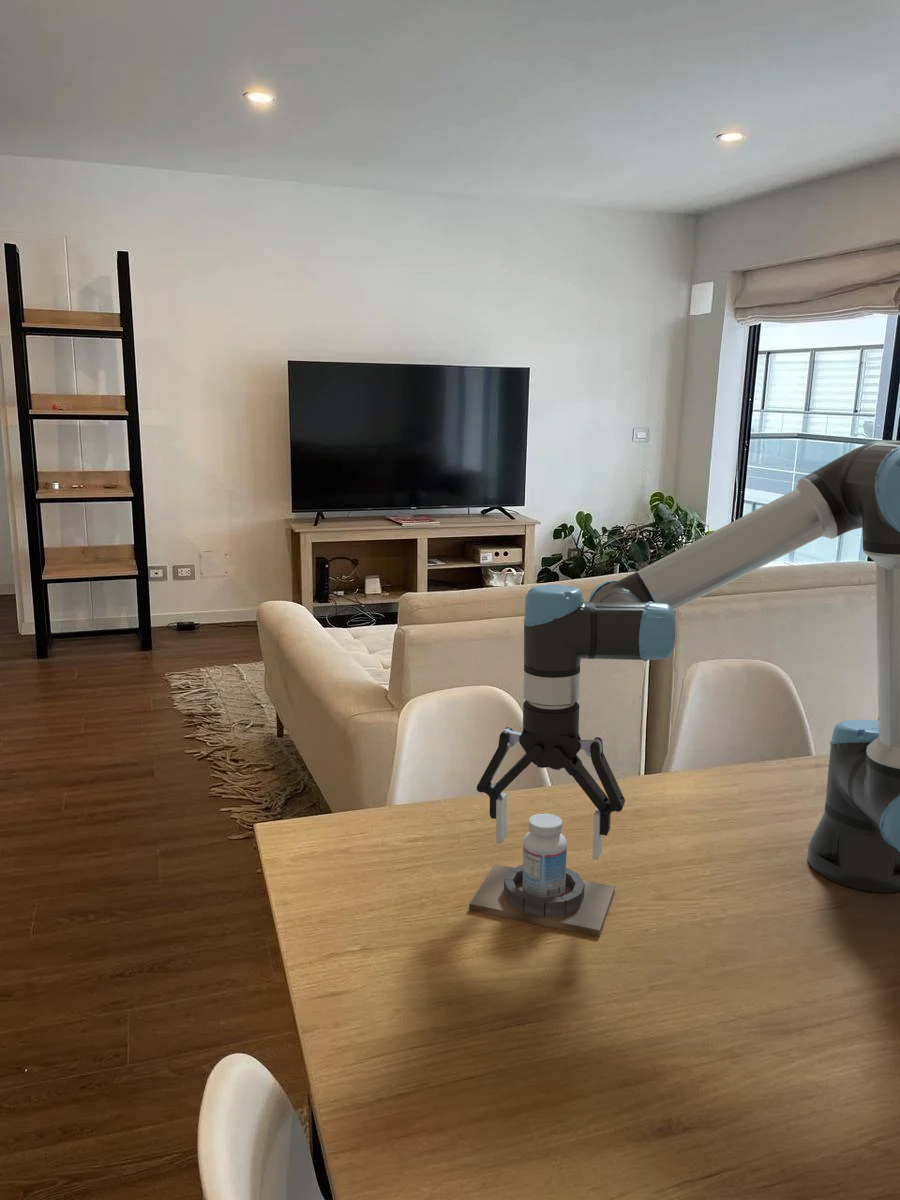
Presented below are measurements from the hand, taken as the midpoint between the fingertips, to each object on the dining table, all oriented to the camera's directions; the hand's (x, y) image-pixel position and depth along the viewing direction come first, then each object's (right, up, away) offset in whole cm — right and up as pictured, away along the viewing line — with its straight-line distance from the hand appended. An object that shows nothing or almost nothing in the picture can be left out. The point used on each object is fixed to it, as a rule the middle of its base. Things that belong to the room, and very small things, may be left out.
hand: (548, 847), depth 123 cm
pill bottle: (-1, -7, +1) cm, 7 cm away
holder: (-1, -8, +2) cm, 8 cm away
